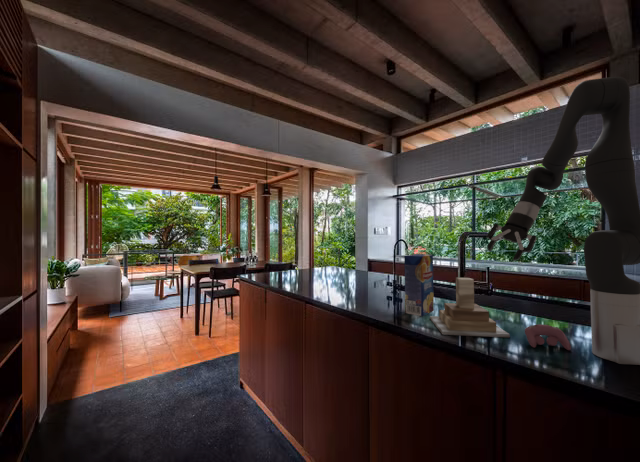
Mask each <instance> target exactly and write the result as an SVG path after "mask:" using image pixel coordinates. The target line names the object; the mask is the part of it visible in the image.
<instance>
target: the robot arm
mask: <svg viewBox="0 0 640 462" xmlns="http://www.w3.org/2000/svg"><path fill="white" fill-rule="evenodd" d="M630 90H631V89H630V85H629V82H628V80H627V79H626V78H624V77H623V76H612V77H602V78H601V77H600V78H593V79H586V80H584V81H580V83H578V84H577V85H576V86H575V88H574V89H573V90H572V91H571V94H570V95H569V97H568V100H567V103H566V106H565V107H564V111H563V113H562V116H561V118H560V121H559V125H558V128H557V131H556V133H555V136H554V138H553V140H552V142H551V144H550V146H549V148H548V149H547V151H546V153H545V155H544V156H543V158H542V160H541V164H542V166H539V165H537V166H533V167H532V168H531V169H529V171H528V173H527V177H526V181H525V187H524V189H523V190H524V191H523V193H522V195H521V197H520V198H519V200H518V202H517V204H516V205H515V206H514V207H513V209H512V211H511V214H510V215H509V216H508V217H507V218H508V219H507V220H506V222H505V224H504V225H503V226H501V225H499V224H498V223H494V224H493V226H492V227H491V229H490V230H489V231H488V233H487V235H486V236H487V239H488V240H490V241H489V243H488V245H487V246H486V247H487V250H488V252H492V250H493V249H494V246H495V245H496V242H499V241H502V240H505V241H508V242H510V243H513V244H516V243H517V245H518V249H517V250H516V253H515V254H514V256H513V258H512V260H513V261H517V260H518V261H519V260H520V259H521V256H522V255H523V253H528V254H530V253H531V252H532V251H533V248H534V246H535V243H536V241H537V236H536V235H534V234H533V235H531V234H529V232H530V229H531V228H532V226H533V224H534V222H535V221H536V220H537V217H538V215H539V213H540V211H541V210H540V209H541V208H542V207H543V204H544V203H545V201H546V198H547V195H546V194H545V193H544V192H543V191H542V190H540V189H538V188H541V189H544V190H548V191H553V190H556V189H558V188H559V187H560V186H561V184H562V182H563V179H564V174H565V169H566V167H567V165H568V164H569V162H570V161H571V159H572V158H573V156H574V155H575V154H576V152H577V150H578V145H579V141H578V135H577V130H576V129H577V128H576V127H577V125H578V123H579V121H580V120H581V118H583V116H590V115H591V116H593V115H601V119H602V130H601V133H600V135H599V137H598V139H597V140H596V142H595V143H594V144H593V147H592V148H591V149H590V150H589V153H587V156H586V158H585V162H584V169H585V170H584V171H585V179H586V180H585V182H586V184H587V187H588V189H589V191H590V193H591V194H592V195H593V196H594V198H595V199H596V200H597V202H598V203H599V204H600V205H601V207H602V208H603V209H604V211H605V214H606V216H607V220H608V224H609V225H608V226H609V227H608V228H609V229H607V230H605V229H604V230H596V231H593V232H591V233H589V235H588V236H586V239H585V241H584V244H583V254H584V255H583V259H584V267H585V275H586V279H587V281H588V282H589V287H590V288H589V289H590V290H589V291H590V325H591V326H590V327H591V331H590V332H591V353H592V354H593V355H595V356H597V357H598V358H601V359H604V360H607V361H611V362H614V363H616V364H619V365H636V366H637V365H639V366H640V282H639V281H637V280H634V279H633V278H629V276H628V275H626V274H625V270H624V266H633V265H634V266H635V265H639V264H640V203H639V195H638V189H637V182H636V171H635V170H636V169H635V162H634V161H635V160H634V157H633V155H634V154H633V150H632V141H631V131H630V130H631V128H630V115H631V114H630V111H631V110H630V108H631V105H630V104H631V92H630ZM536 187H537V188H536ZM499 231H500V232H499ZM497 232H499V233H498V234H496V233H497ZM525 239H527V240H528V244H527V246H526V247H524V245H523V242H522V241H524V240H525Z"/></svg>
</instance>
